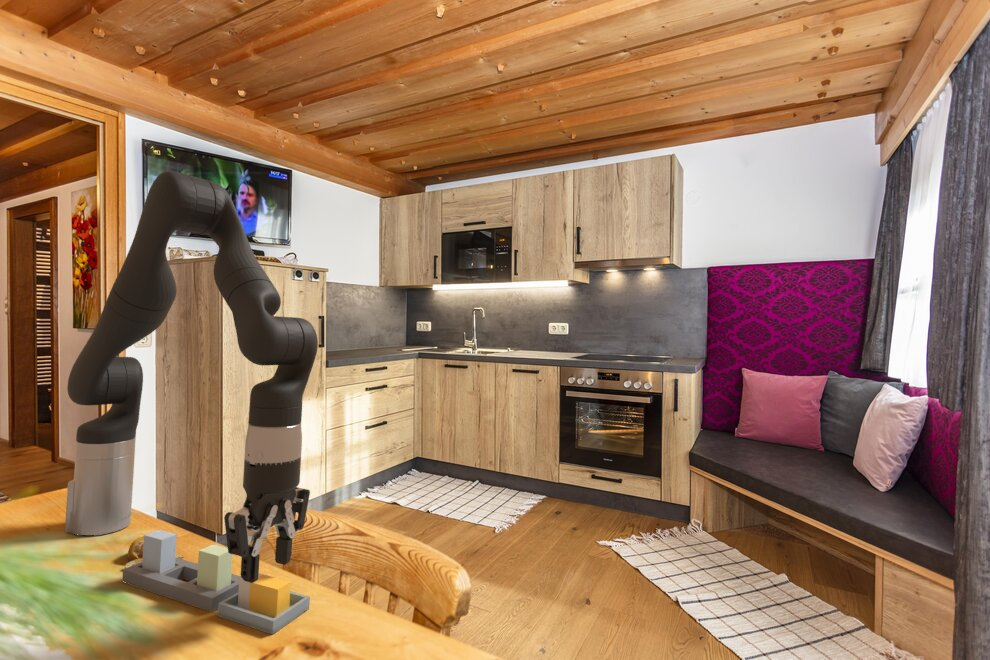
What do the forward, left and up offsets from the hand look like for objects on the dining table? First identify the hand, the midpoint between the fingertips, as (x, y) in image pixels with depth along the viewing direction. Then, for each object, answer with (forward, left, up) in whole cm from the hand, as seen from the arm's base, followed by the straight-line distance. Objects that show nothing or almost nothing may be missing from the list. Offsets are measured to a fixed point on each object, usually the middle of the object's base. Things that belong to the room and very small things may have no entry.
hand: (266, 571), depth 73 cm
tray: (0, 0, -6) cm, 6 cm away
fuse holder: (-14, +7, -6) cm, 17 cm away
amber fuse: (-3, +2, -3) cm, 5 cm away
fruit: (-25, +15, -6) cm, 30 cm away
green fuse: (-9, +4, -6) cm, 12 cm away
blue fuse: (-20, +9, -6) cm, 23 cm away
